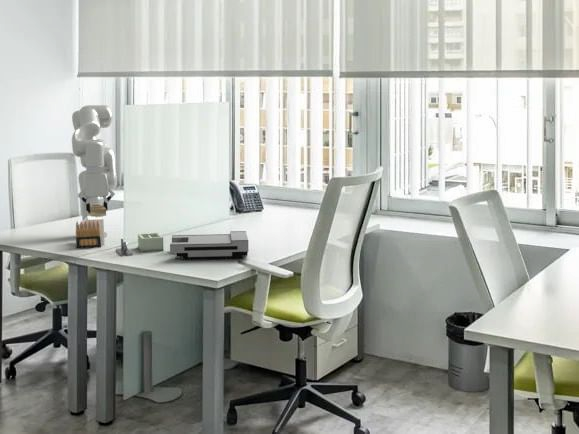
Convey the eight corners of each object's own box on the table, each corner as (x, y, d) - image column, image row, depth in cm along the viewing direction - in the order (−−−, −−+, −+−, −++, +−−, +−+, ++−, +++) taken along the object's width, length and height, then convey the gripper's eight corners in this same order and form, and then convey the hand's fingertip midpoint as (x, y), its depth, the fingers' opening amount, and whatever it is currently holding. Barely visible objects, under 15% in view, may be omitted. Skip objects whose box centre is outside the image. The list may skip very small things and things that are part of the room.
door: (88, 211, 326) (88, 204, 326) (102, 210, 328) (102, 204, 328) (91, 216, 314) (91, 209, 314) (106, 215, 316) (105, 208, 316)
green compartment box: (138, 247, 333) (137, 234, 332) (158, 245, 337) (157, 232, 336) (142, 252, 323) (142, 238, 322) (163, 250, 326) (163, 237, 325)
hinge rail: (116, 249, 328) (115, 238, 327) (127, 249, 330) (127, 237, 329) (120, 256, 316) (120, 244, 315) (132, 255, 318) (132, 243, 317)
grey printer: (172, 251, 328) (172, 232, 326) (245, 249, 331) (245, 231, 330) (170, 262, 307) (169, 242, 306) (248, 260, 311) (248, 240, 309)
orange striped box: (104, 245, 337) (103, 219, 335) (78, 246, 334) (77, 220, 332) (103, 240, 347) (102, 215, 345) (78, 242, 344) (76, 216, 342)
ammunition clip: (76, 248, 331) (74, 221, 328) (76, 247, 332) (74, 221, 330) (101, 247, 333) (100, 220, 331) (101, 246, 335) (99, 220, 333)
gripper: (114, 168, 325) (116, 209, 328) (73, 170, 319) (75, 212, 322) (117, 170, 318) (118, 212, 321) (74, 172, 312) (77, 214, 315)
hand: (97, 211), depth 321 cm, fingers closed on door, 6 cm apart
